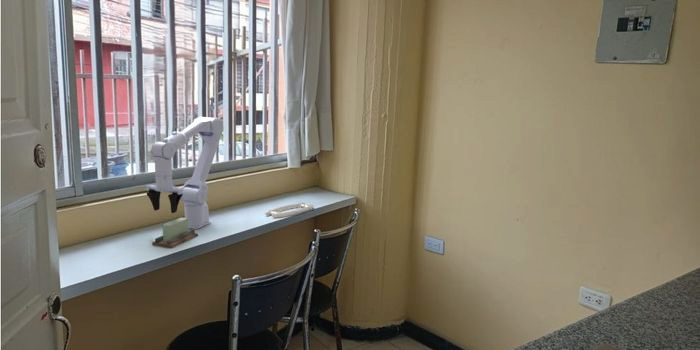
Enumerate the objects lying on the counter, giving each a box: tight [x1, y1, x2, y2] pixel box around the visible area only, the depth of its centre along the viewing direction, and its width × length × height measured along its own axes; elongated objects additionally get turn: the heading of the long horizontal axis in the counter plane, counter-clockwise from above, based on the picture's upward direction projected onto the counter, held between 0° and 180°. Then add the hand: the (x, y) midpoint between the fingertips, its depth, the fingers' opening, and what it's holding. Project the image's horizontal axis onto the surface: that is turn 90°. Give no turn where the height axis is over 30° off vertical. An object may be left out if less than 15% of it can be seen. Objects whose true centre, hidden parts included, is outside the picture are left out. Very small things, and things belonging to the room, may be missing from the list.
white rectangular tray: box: [264, 201, 314, 219], centre depth 220 cm, size 3×10×25 cm
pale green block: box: [162, 217, 189, 242], centre depth 177 cm, size 10×3×6 cm, turn 161°
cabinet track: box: [151, 228, 199, 249], centre depth 177 cm, size 15×8×2 cm, turn 161°
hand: (165, 211), depth 181 cm, fingers open, 7 cm apart
